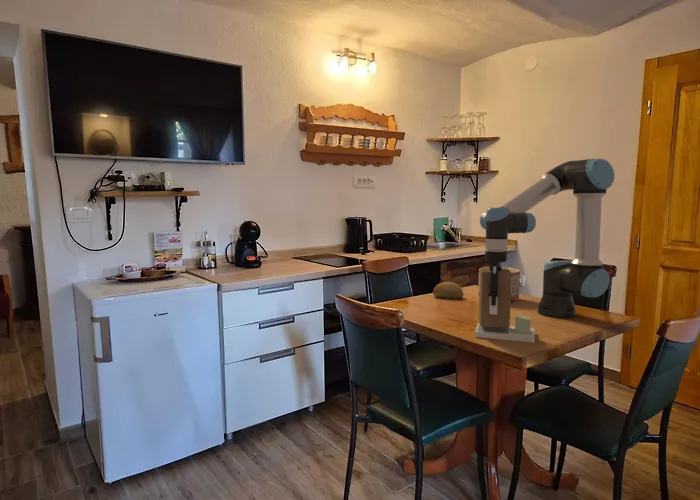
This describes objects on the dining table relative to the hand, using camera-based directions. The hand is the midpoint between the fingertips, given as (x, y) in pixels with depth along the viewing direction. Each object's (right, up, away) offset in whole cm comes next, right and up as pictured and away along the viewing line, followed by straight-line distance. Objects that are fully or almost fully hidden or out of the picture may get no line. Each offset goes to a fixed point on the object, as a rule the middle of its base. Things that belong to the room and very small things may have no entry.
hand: (494, 310), depth 169 cm
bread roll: (-3, -2, +64) cm, 64 cm away
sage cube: (+9, -7, -3) cm, 12 cm away
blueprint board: (+4, -9, 0) cm, 10 cm away
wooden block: (0, -5, +1) cm, 5 cm away
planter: (+21, -2, +60) cm, 64 cm away
